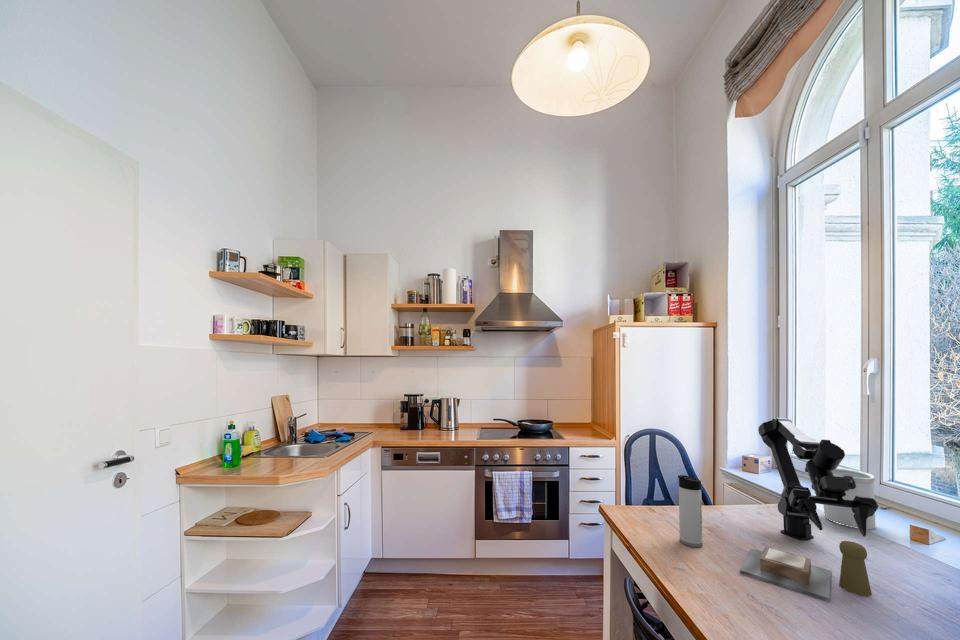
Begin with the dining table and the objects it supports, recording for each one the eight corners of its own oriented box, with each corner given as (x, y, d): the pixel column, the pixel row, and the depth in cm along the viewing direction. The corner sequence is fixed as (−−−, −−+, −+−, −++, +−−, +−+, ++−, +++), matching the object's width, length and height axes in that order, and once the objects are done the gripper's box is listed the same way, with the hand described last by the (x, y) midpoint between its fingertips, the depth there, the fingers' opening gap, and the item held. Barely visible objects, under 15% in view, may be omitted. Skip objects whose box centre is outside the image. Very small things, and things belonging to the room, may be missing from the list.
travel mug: (674, 538, 128) (673, 473, 130) (694, 538, 129) (693, 473, 131) (686, 547, 122) (684, 479, 124) (707, 547, 122) (705, 479, 124)
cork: (878, 597, 98) (875, 549, 99) (849, 593, 100) (846, 546, 101) (860, 584, 104) (858, 539, 105) (833, 580, 105) (831, 536, 106)
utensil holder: (866, 533, 137) (863, 479, 139) (814, 517, 150) (811, 468, 152) (885, 526, 144) (882, 475, 145) (833, 511, 157) (831, 465, 159)
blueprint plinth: (740, 573, 108) (739, 557, 108) (751, 551, 121) (751, 537, 121) (829, 601, 96) (828, 583, 96) (831, 573, 109) (830, 557, 110)
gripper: (790, 459, 118) (807, 511, 106) (872, 467, 111) (899, 524, 100) (782, 480, 124) (797, 531, 113) (859, 489, 118) (883, 544, 106)
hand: (842, 532), depth 108 cm, fingers open, 9 cm apart
